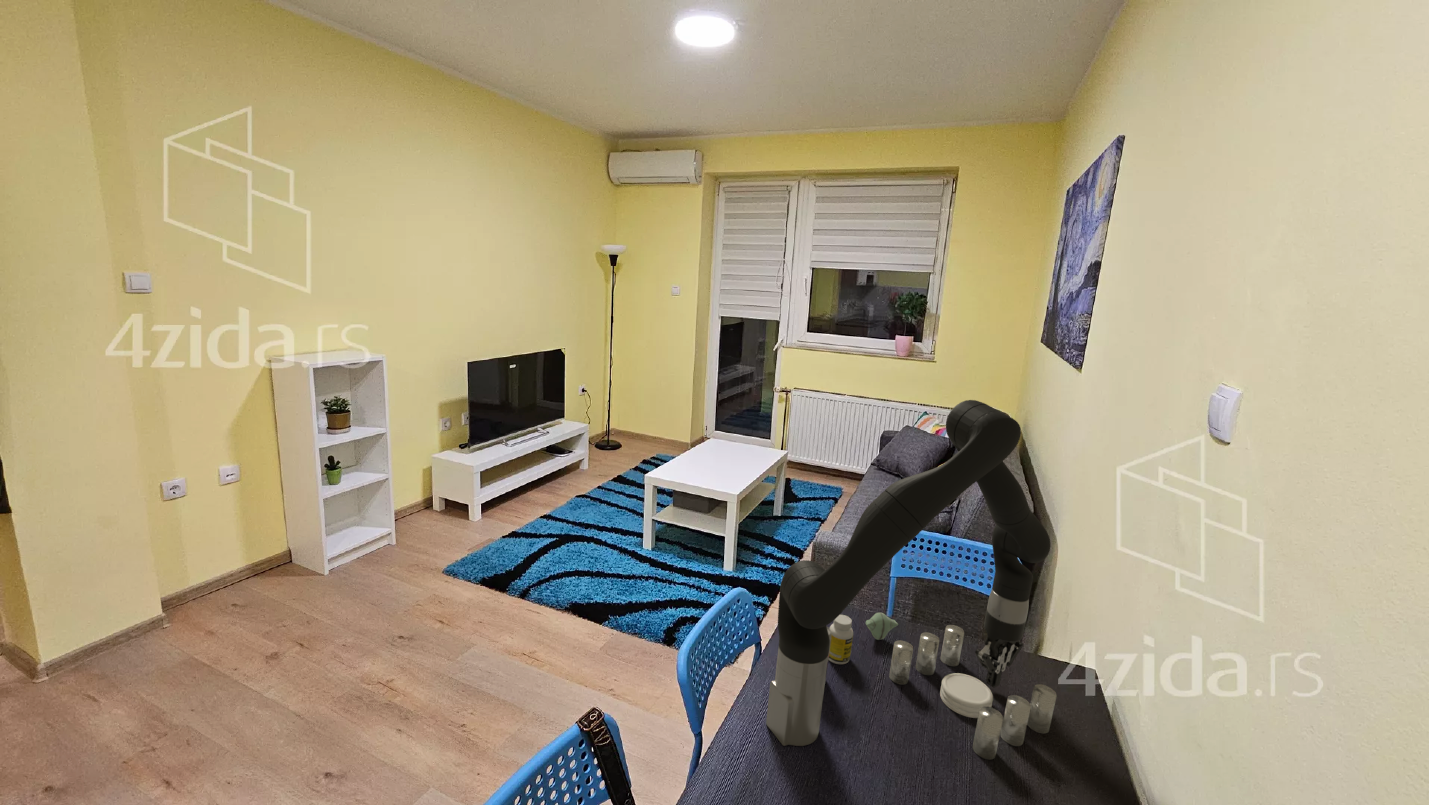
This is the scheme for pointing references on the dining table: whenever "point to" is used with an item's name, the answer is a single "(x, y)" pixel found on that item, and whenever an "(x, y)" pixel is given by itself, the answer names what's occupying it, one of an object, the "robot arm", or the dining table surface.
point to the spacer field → (989, 718)
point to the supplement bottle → (841, 640)
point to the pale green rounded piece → (880, 625)
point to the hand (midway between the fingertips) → (992, 684)
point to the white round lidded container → (965, 694)
